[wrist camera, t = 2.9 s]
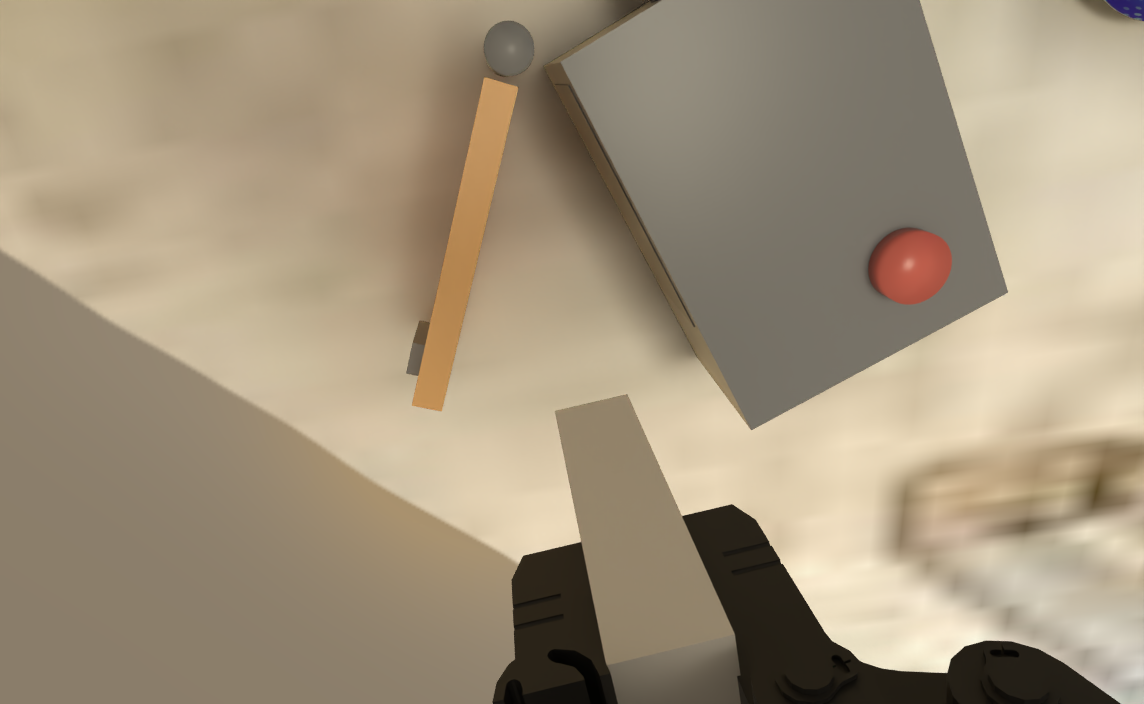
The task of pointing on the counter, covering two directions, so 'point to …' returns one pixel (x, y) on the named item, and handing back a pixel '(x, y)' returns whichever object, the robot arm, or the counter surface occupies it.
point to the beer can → (1128, 8)
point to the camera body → (786, 183)
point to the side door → (469, 215)
